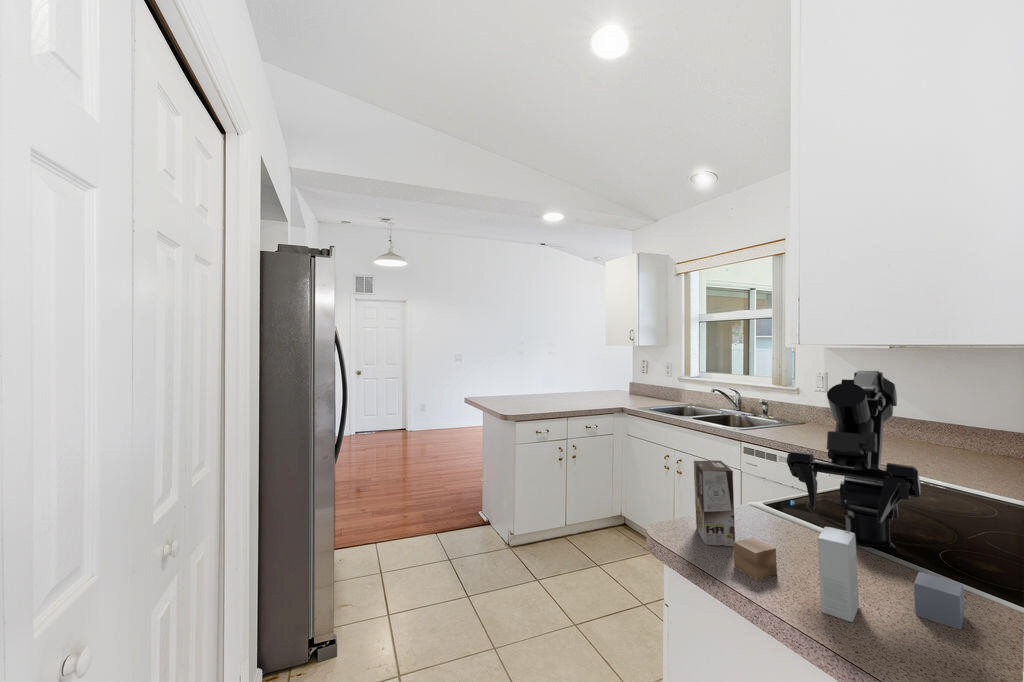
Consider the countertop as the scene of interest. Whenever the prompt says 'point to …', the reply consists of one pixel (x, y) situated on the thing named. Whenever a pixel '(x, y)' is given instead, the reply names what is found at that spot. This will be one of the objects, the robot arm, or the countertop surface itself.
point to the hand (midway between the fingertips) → (844, 514)
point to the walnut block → (755, 558)
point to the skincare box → (838, 573)
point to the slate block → (939, 600)
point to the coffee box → (714, 502)
